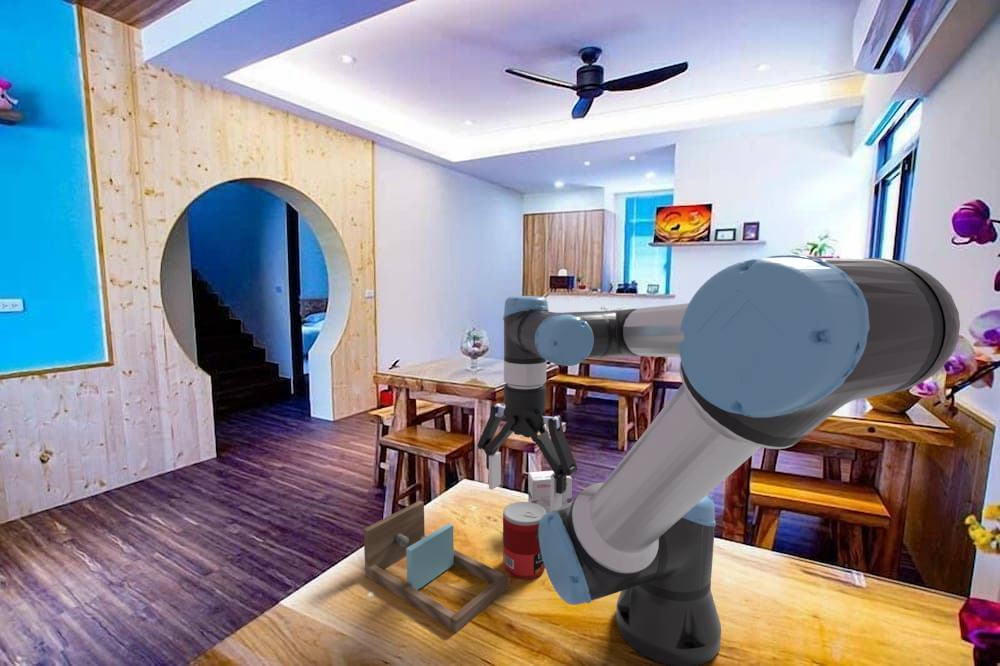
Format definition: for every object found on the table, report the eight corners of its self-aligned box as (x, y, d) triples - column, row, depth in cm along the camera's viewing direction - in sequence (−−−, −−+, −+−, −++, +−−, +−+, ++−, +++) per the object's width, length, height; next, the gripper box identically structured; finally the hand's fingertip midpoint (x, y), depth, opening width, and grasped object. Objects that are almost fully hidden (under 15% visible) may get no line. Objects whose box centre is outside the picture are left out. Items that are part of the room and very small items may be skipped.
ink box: (565, 518, 106) (566, 467, 104) (572, 530, 101) (573, 477, 99) (527, 522, 104) (527, 470, 103) (532, 534, 99) (532, 480, 98)
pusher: (453, 564, 89) (453, 525, 88) (412, 593, 81) (410, 550, 80) (441, 558, 91) (440, 519, 90) (399, 586, 83) (398, 544, 82)
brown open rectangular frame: (509, 587, 83) (509, 538, 82) (456, 633, 72) (455, 578, 71) (420, 542, 96) (419, 500, 95) (365, 575, 86) (363, 528, 85)
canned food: (543, 583, 84) (544, 524, 82) (499, 577, 85) (499, 519, 84) (548, 557, 91) (548, 503, 90) (507, 552, 93) (507, 499, 91)
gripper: (599, 390, 79) (595, 510, 82) (484, 370, 95) (484, 472, 97) (577, 400, 73) (574, 529, 76) (458, 377, 89) (459, 485, 92)
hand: (523, 497), depth 87 cm, fingers open, 13 cm apart
